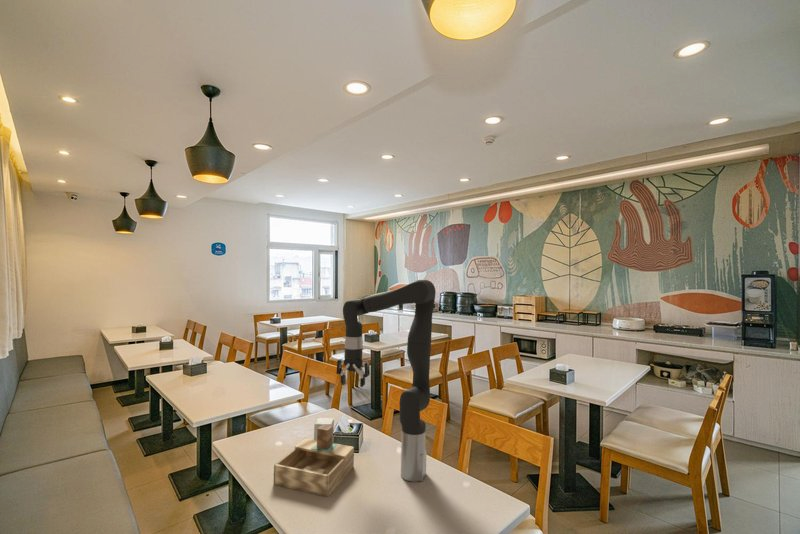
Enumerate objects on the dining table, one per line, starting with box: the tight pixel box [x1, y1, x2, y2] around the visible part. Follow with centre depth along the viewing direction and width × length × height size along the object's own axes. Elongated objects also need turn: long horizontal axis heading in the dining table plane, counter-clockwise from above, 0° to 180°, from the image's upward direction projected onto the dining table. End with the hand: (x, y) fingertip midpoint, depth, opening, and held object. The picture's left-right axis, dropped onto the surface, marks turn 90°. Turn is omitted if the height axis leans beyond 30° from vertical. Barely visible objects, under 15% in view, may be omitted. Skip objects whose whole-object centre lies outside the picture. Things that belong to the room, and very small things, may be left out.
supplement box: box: [313, 417, 335, 440], centre depth 156 cm, size 7×7×13 cm
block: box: [317, 424, 334, 450], centre depth 143 cm, size 4×4×8 cm
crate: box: [273, 438, 355, 498], centre depth 137 cm, size 22×21×8 cm
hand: (352, 385), depth 151 cm, fingers open, 8 cm apart
